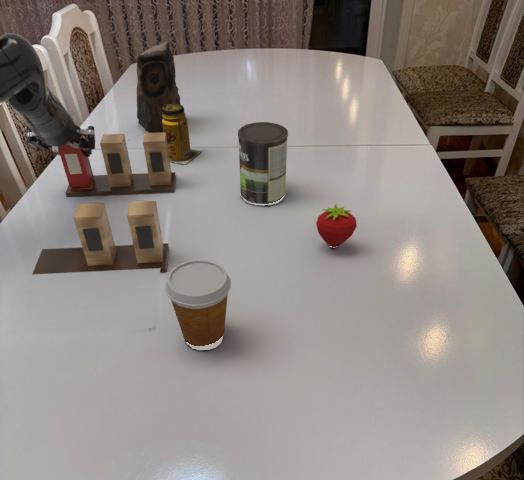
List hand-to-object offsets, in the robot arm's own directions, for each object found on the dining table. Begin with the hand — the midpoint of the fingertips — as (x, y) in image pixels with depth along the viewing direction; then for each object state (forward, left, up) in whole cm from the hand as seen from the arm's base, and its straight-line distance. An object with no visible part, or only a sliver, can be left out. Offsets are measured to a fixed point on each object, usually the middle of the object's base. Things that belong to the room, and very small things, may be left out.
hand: (76, 152), depth 110 cm
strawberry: (+53, -31, -8) cm, 62 cm away
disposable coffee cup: (+28, -54, -8) cm, 61 cm away
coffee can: (+41, -9, -8) cm, 43 cm away
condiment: (+22, +13, -8) cm, 27 cm away
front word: (+9, -32, -7) cm, 34 cm away
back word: (+9, -2, -7) cm, 12 cm away
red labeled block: (0, -2, -6) cm, 6 cm away
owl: (+15, +33, -8) cm, 37 cm away
